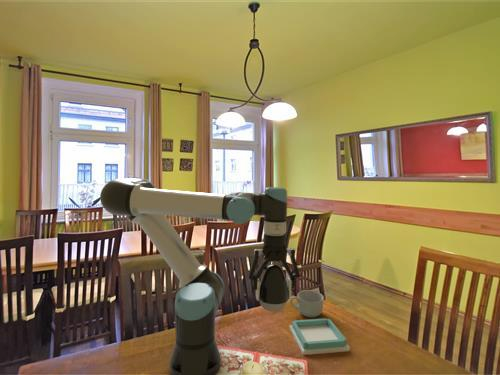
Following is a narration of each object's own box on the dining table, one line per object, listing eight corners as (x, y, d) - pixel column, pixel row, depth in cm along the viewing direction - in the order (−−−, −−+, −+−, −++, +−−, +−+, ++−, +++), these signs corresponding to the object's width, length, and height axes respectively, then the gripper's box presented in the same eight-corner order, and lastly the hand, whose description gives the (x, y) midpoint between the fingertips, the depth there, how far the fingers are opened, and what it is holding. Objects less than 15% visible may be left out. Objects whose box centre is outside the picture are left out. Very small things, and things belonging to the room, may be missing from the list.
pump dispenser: (266, 299, 105) (267, 258, 105) (292, 307, 100) (294, 263, 99) (251, 309, 97) (252, 264, 96) (279, 318, 91) (280, 270, 91)
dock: (302, 354, 93) (303, 345, 93) (289, 328, 109) (289, 320, 108) (349, 351, 95) (350, 341, 95) (329, 325, 111) (330, 317, 111)
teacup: (321, 308, 125) (321, 290, 124) (325, 321, 114) (325, 301, 113) (288, 306, 126) (289, 289, 126) (289, 319, 115) (290, 299, 115)
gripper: (242, 236, 91) (241, 304, 93) (311, 235, 94) (309, 301, 96) (240, 231, 99) (238, 294, 100) (304, 230, 102) (302, 292, 103)
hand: (273, 298), depth 98 cm, fingers closed on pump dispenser, 10 cm apart
